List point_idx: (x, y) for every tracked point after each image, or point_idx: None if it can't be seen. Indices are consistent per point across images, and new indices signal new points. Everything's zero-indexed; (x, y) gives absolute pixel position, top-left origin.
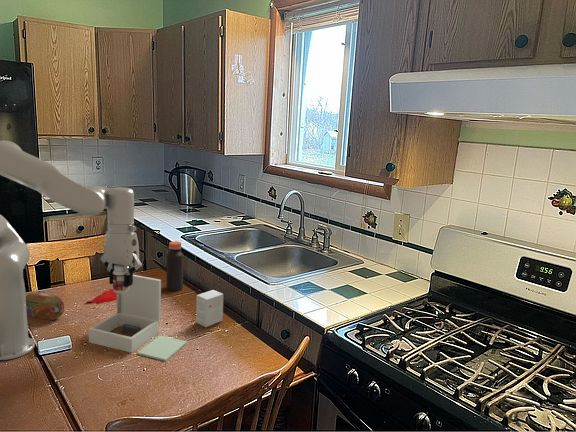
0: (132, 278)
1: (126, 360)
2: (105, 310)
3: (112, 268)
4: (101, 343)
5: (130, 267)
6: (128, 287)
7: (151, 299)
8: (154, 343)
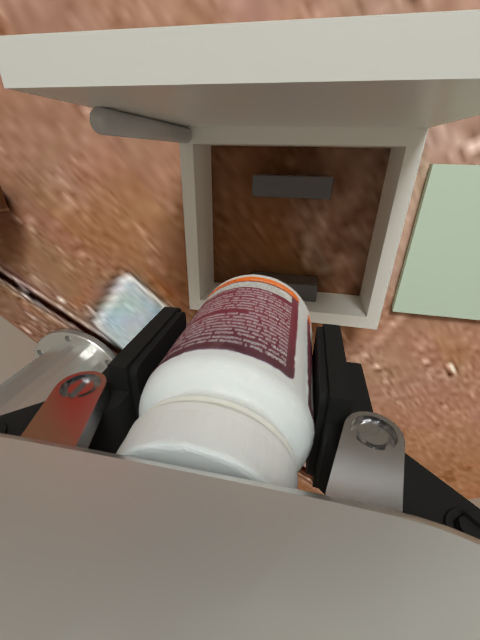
0: (365, 391)
1: (372, 345)
2: (55, 23)
3: (109, 447)
4: None
5: (344, 491)
6: (310, 329)
7: (411, 115)
8: (431, 238)
